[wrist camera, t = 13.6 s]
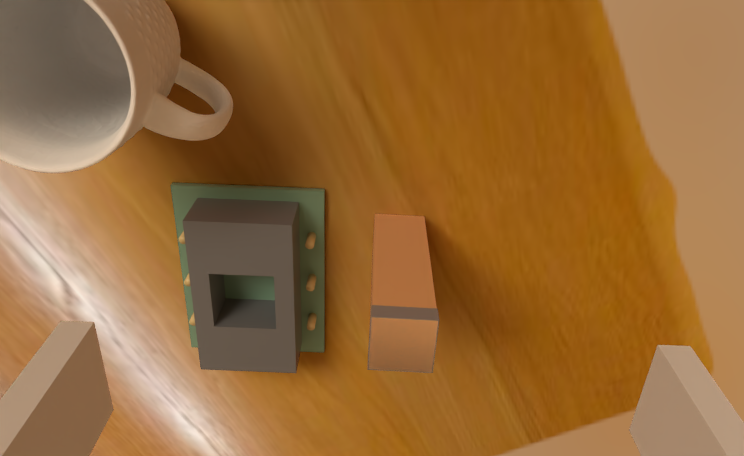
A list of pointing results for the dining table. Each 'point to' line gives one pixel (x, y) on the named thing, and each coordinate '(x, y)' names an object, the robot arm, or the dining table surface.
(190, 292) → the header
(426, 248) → the plug
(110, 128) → the mug
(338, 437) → the dining table surface
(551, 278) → the dining table surface
